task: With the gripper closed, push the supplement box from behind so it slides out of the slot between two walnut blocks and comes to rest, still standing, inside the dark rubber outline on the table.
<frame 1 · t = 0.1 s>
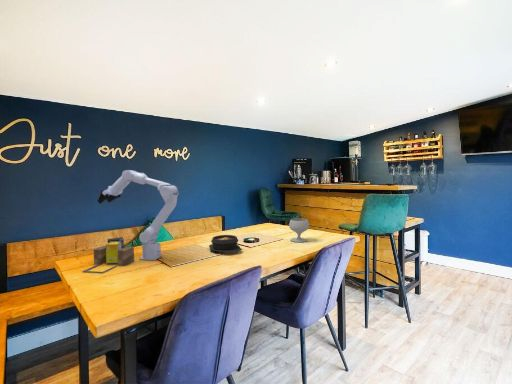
hand: (103, 201, 164), 32 cm above the table, tool tilted 50°, fingers open, 7 cm apart
stand outline: (101, 268, 142), on the table
chalice: (299, 240, 201), on the table
casserole: (224, 250, 176), on the table
supplement box: (114, 263, 152), on the table
box: (115, 257, 164), on the table
shelf blocks: (114, 262, 152), on the table
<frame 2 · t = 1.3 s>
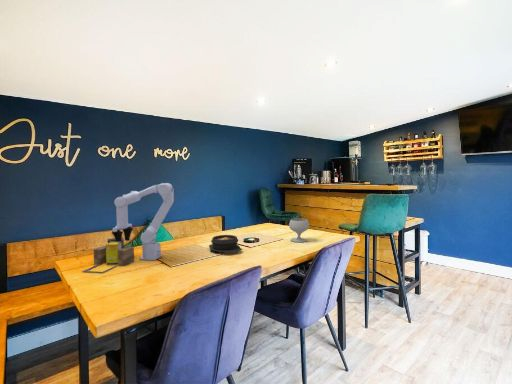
hand: (123, 242, 160), 9 cm above the table, tool pointing down, fingers open, 7 cm apart
nothing on the table moved.
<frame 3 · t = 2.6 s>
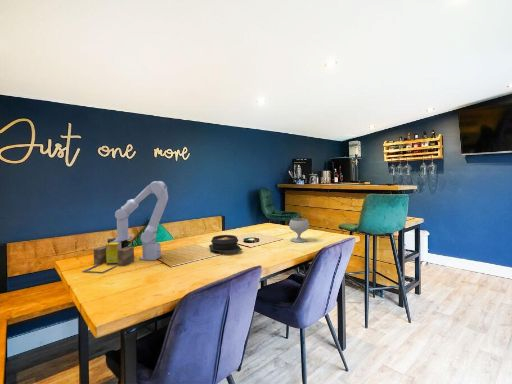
hand: (123, 254, 160), 3 cm above the table, tool pointing down, fingers closed
nothing on the table moved.
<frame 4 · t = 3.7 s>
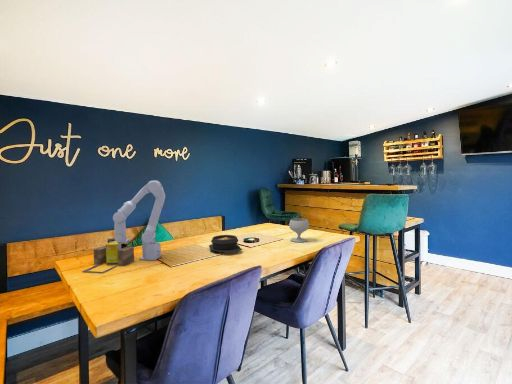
hand: (121, 257, 158), 1 cm above the table, tool pointing down, fingers closed
supplement box: (114, 263, 152), on the table, touching gripper
everything else where it was.
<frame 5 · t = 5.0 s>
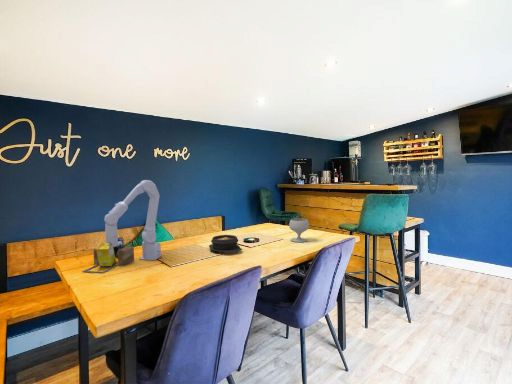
hand: (112, 261, 151), 1 cm above the table, tool pointing down, fingers closed, pressing on supplement box
supplement box: (108, 264, 147), point 1 cm above the table, touching gripper
everything else where it was.
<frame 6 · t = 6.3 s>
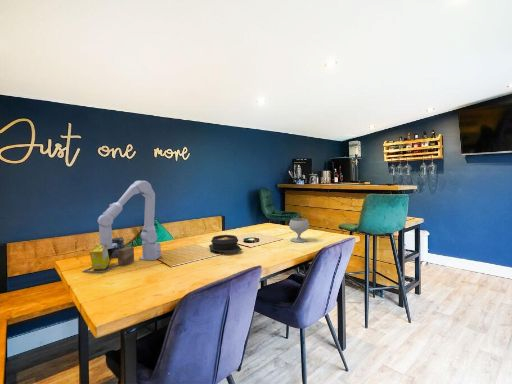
hand: (106, 264, 146), 1 cm above the table, tool pointing down, fingers closed, pressing on supplement box
supplement box: (102, 267, 143), point 1 cm above the table, touching gripper
everything else where it was.
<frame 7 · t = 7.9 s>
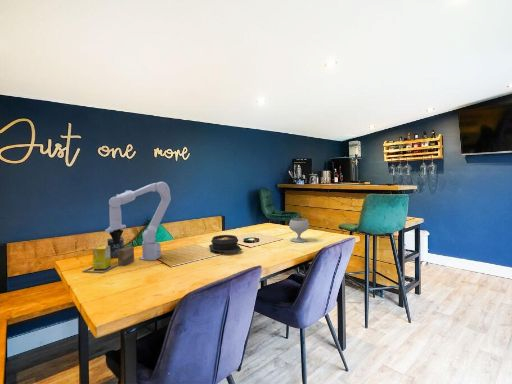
hand: (116, 243, 154), 10 cm above the table, tool pointing down, fingers closed
supplement box: (102, 268, 143), on the table
everything else where it was.
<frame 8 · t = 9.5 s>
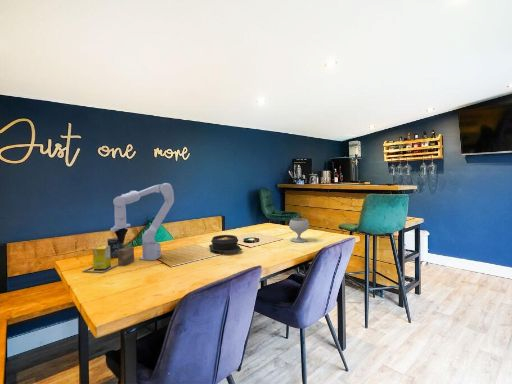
hand: (121, 242, 157), 10 cm above the table, tool pointing down, fingers closed
nothing on the table moved.
at the end: supplement box inside the target area on the stand outline (0.9 cm from its centre), point 0.0 cm above the stand outline's base; supplement box tilted 0°; supplement box moved 9.4 cm from its start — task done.
